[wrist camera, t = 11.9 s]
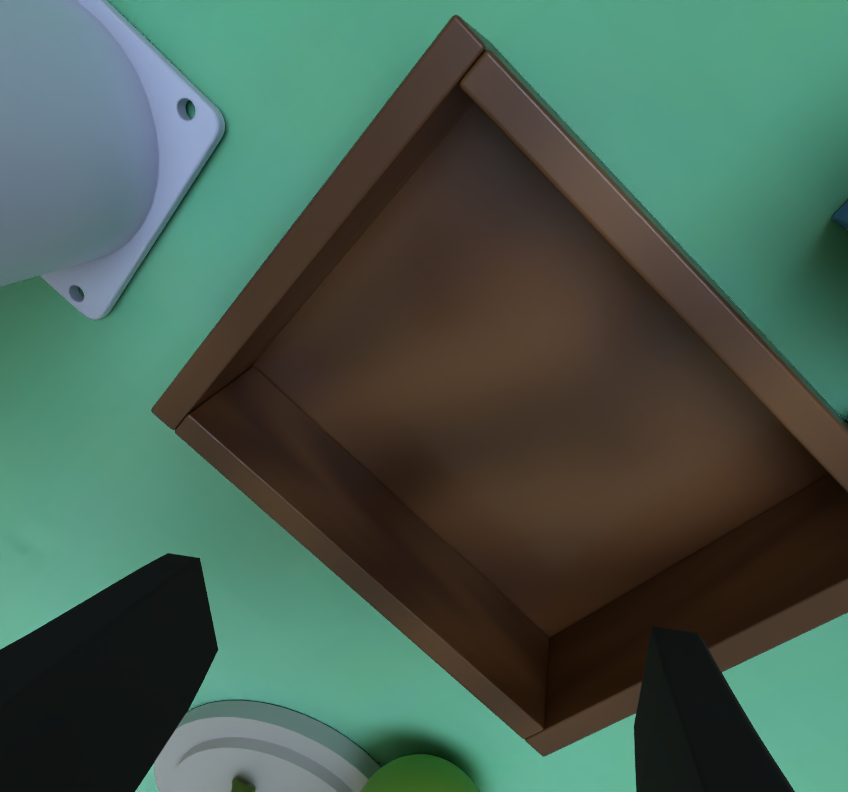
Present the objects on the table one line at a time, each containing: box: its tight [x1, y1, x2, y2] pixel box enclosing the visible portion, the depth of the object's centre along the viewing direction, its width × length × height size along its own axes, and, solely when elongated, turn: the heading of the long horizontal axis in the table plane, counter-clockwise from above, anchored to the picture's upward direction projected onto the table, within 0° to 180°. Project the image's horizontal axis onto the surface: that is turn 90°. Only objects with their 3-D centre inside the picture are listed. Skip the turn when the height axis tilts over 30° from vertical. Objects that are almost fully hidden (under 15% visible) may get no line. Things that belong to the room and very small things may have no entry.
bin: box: [151, 15, 848, 756], centre depth 16 cm, size 15×12×4 cm
